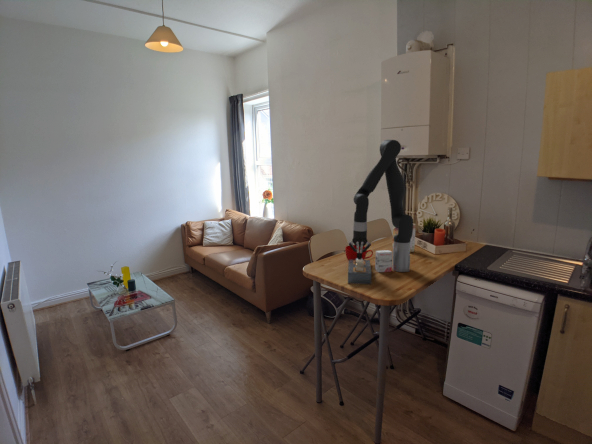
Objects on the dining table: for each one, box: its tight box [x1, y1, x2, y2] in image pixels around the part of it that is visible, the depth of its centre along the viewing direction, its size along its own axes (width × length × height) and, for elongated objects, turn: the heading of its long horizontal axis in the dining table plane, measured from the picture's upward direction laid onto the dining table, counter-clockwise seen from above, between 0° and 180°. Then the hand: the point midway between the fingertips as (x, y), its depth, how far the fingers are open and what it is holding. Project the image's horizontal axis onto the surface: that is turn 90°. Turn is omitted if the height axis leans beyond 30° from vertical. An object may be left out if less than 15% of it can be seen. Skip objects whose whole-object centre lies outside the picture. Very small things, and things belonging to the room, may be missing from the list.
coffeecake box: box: [391, 223, 416, 253], centre depth 230 cm, size 15×7×20 cm, turn 25°
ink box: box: [374, 249, 393, 273], centre depth 190 cm, size 8×5×12 cm, turn 96°
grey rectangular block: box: [356, 259, 365, 271], centre depth 176 cm, size 4×4×6 cm
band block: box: [347, 259, 372, 285], centre depth 183 cm, size 22×12×6 cm, turn 170°
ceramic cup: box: [344, 244, 374, 262], centre depth 203 cm, size 13×17×10 cm
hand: (359, 258), depth 187 cm, fingers closed
